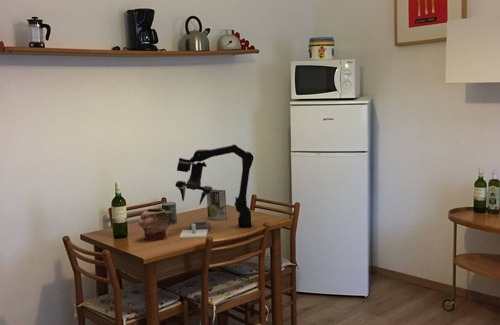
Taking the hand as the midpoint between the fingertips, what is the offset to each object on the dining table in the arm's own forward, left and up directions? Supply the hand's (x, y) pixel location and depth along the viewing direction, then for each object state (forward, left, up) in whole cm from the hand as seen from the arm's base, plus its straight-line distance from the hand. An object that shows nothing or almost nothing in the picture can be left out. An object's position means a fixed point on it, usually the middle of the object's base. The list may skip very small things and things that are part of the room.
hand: (191, 202), depth 289 cm
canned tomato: (+14, -15, -14) cm, 25 cm away
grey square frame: (-4, 0, -14) cm, 14 cm away
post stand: (-2, +13, -14) cm, 19 cm away
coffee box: (-12, -22, -14) cm, 28 cm away
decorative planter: (+16, +15, -14) cm, 26 cm away
